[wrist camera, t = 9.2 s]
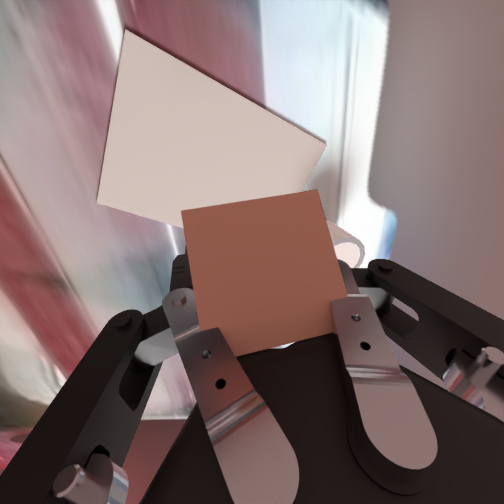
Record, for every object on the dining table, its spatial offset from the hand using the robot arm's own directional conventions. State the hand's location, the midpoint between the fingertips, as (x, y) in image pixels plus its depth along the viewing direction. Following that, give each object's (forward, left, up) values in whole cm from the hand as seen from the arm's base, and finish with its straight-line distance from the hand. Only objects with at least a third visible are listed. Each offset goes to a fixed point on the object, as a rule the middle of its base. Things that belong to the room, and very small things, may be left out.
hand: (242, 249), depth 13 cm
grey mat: (0, 0, -17) cm, 17 cm away
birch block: (+2, -4, -2) cm, 5 cm away
